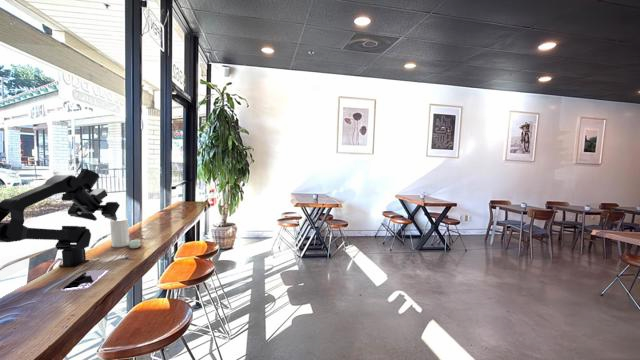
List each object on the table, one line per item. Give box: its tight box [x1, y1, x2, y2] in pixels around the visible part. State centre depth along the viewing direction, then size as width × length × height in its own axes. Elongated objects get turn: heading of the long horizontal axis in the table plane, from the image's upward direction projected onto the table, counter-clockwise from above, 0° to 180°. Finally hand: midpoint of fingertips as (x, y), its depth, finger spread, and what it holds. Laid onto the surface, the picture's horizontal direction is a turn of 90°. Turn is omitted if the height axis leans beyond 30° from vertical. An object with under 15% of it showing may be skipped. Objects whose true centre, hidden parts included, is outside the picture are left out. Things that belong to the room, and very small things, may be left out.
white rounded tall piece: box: [109, 217, 130, 248], centre depth 134 cm, size 7×7×12 cm
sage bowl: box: [128, 239, 142, 249], centre depth 131 cm, size 4×4×3 cm
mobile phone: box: [60, 269, 109, 292], centre depth 97 cm, size 8×1×15 cm
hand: (106, 219), depth 126 cm, fingers open, 9 cm apart
